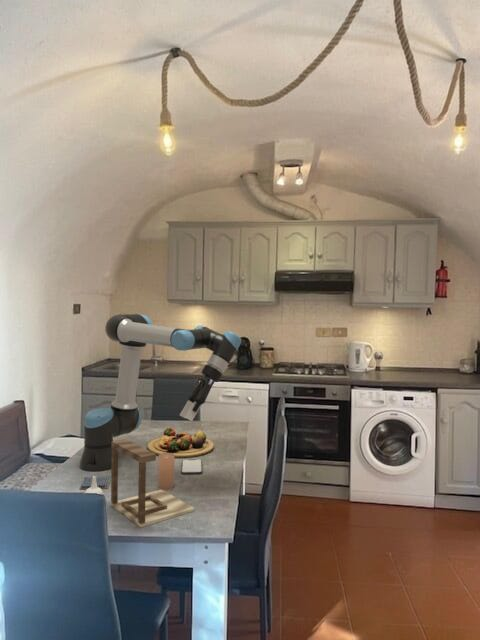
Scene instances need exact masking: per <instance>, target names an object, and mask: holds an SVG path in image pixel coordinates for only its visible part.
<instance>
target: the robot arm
mask: <svg viewBox="0 0 480 640" xmlns="http://www.w3.org/2000/svg"><path fill="white" fill-rule="evenodd" d="M105 323H106V324H105V329H104V330H105V333H106V336H107V338H109V339H110V340H112V341H113V342H117V343H118V345H120V347H121V353H120V362H119V367H118V377H117V385H116V392H115V399H114V400H113V401H112V402H111V403H110V407H100V408H95V409H91V410H89V411H88V412H87V413H86V414H85V415H84V422H83V425H84V426H83V427H84V432H83V433H84V435H83V436H84V445H83V446H84V447H83V448H84V449H83V451H82V455H81V457H80V460H79V468H80V469H81V470H84V471H88V472H89V471H90V472H103V471H107V470H111V467H112V447H111V445H112V441H114V438H116V437H119V436H122V435H127V434H128V435H129V434H130V433H133V432H134V431H136V430H137V429H138V428H139V427H140V425H141V424H142V423H141V422H142V413H141V411H140V408H139V404H137V402H136V397H137V389H138V382H139V381H138V380H139V373H140V366H141V358H142V351H143V349H145V348H146V346H147V344H149V345H156V346H162V347H167V348H168V347H169V348H173V349H175V350H177V351H184V352H185V351H189V350H190V351H191V350H198V349H206V350H207V349H208V350H209V351H212V354H211V355H210V357H209V358H208V360H207V362H206V364H205V365H204V367H203V368H202V370H201V374H202V375H203V376H204V377H202V378H201V379H200V381H198V384H197V385H196V386H195V388H194V390H193V391H192V392H191V394H190V395H189V396H188V400H187V401H186V403H185V405H184V407H183V408H182V410H181V412H180V413H179V416H180V417H182V418H183V419H187V420H189V421H191V422H193V420H194V418H195V417H196V415H197V414H198V412H199V410H200V409H201V407H202V405H203V404H205V402H206V400H207V398H208V395H209V394H210V391H211V389H212V387H213V385H214V384H215V383H219V382H220V380H221V378H222V377H223V373H225V371H226V370H228V369H229V364H230V363H231V361H232V359H233V357H234V356H235V354H236V353H237V352H238V350H239V347H240V345H241V344H242V338H241V337H240V336H239V335H238V334H237V333H235V332H233V331H231V330H226V331H225V332H224V333H219V332H218V331H215V330H213V329H211V328H209V327H207V326H203V325H197V326H196V327H194V328H193V329H186V328H179V327H169V326H163V325H155V324H153V322H152V321H151V319H150V317H148V316H147V315H145V314H142V313H141V314H139V313H131V314H130V313H127V314H126V313H123V314H121V313H120V314H119V313H118V314H114V315H113V316H111V317H109V319H108V320H107V321H106V322H105Z"/></svg>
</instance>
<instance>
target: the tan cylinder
mask: <svg viewBox="0 0 480 640" xmlns="http://www.w3.org/2000/svg"><path fill="white" fill-rule="evenodd" d="M157 457H158V459H157V460H158V465H157V468H158V469H157V470H158V471H157V472H158V475H157V488H158V490H161V489H162V490H164V491H167V490H172V489H174V487H175V459H176V458H175V455H174V454H172V453H162V454H159V456H157Z"/></svg>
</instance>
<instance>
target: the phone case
mask: <svg viewBox="0 0 480 640" xmlns="http://www.w3.org/2000/svg"><path fill="white" fill-rule="evenodd" d="M180 471H181V472H180V474H181V475H182V476H183V475H184V476H185V475H186V476H187V475H189V476H191V475H193V476H194V475H203V460H202V459H199V458H198V459H182V460H181V470H180Z"/></svg>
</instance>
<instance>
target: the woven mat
mask: <svg viewBox="0 0 480 640" xmlns="http://www.w3.org/2000/svg"><path fill="white" fill-rule="evenodd" d="M92 479H93V476H89V477H88V476H84V478H83V480H82V482H81V484H80V487H79V490H83V491H84V490H85V491H86V490H87V489H88V488H90V487H91V485H92ZM110 481H111V477H110V476H103V475H102V476H96V482H97V487H99V488H100V489H101V490H107V489H109V486H110V485H111V482H110Z"/></svg>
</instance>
